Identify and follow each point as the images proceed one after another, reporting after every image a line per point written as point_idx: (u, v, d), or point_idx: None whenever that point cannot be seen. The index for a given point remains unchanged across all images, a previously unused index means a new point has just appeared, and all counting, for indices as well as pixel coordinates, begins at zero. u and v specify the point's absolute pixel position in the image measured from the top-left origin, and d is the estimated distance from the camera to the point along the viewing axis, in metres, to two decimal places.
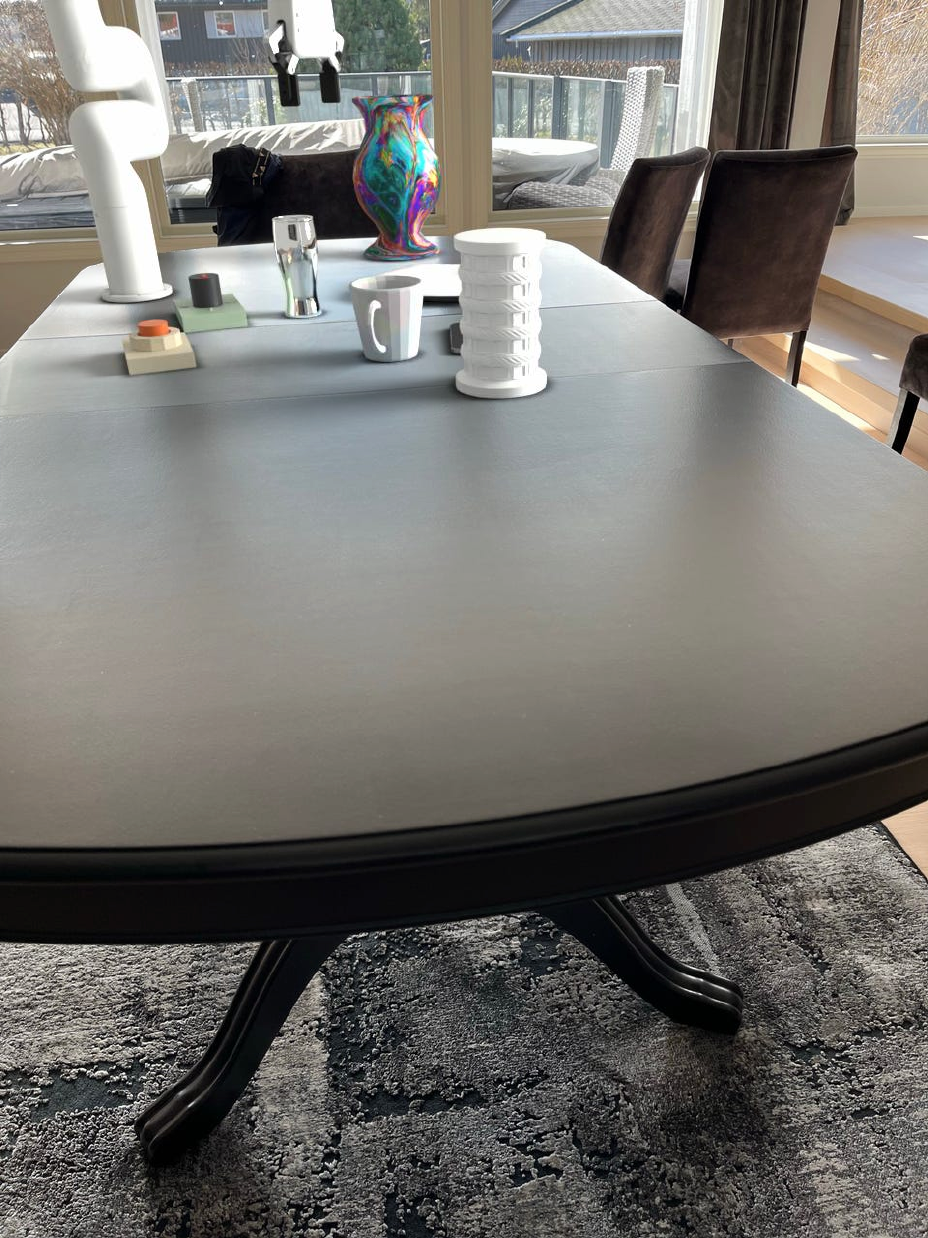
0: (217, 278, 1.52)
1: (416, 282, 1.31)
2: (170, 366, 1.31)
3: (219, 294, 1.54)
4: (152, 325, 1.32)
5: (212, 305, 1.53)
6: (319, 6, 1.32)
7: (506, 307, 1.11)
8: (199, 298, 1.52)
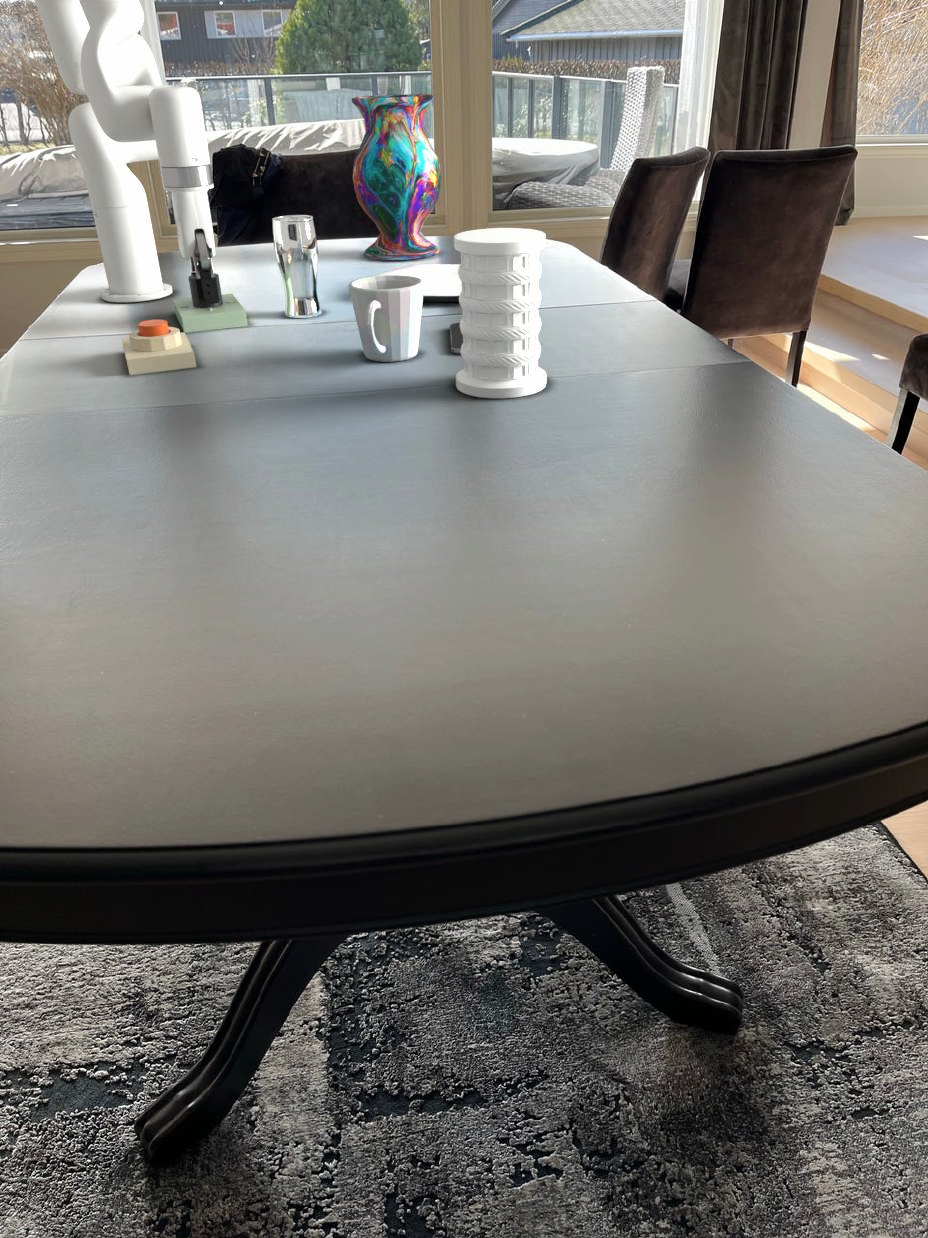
0: (217, 278, 1.52)
1: (416, 282, 1.31)
2: (170, 366, 1.31)
3: (219, 294, 1.54)
4: (152, 325, 1.32)
5: (212, 305, 1.53)
6: None
7: (506, 307, 1.11)
8: None
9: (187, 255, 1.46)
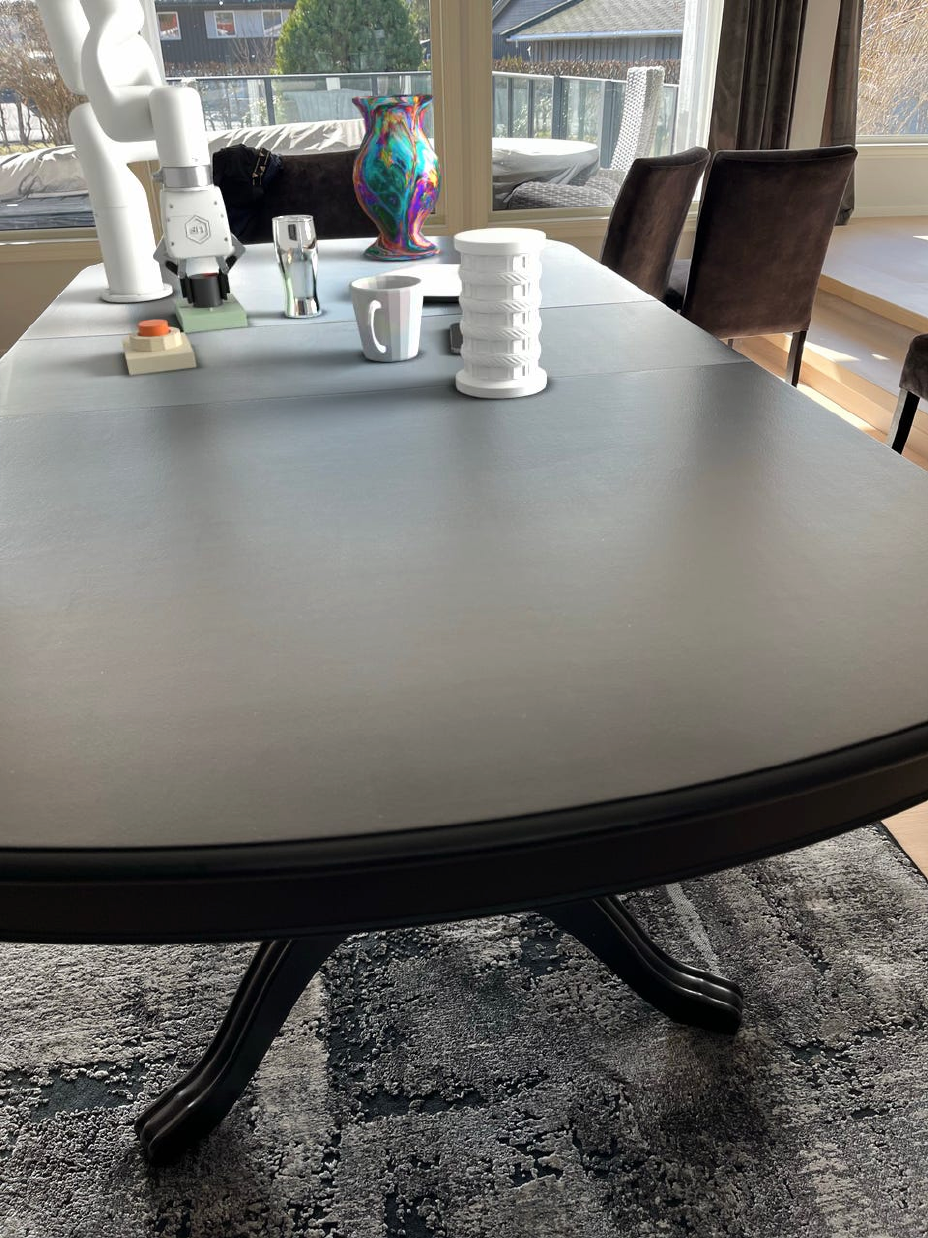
0: None
1: (416, 282, 1.31)
2: (170, 366, 1.31)
3: None
4: (152, 325, 1.32)
5: None
6: None
7: (506, 307, 1.11)
8: (219, 295, 1.54)
9: (231, 249, 1.50)
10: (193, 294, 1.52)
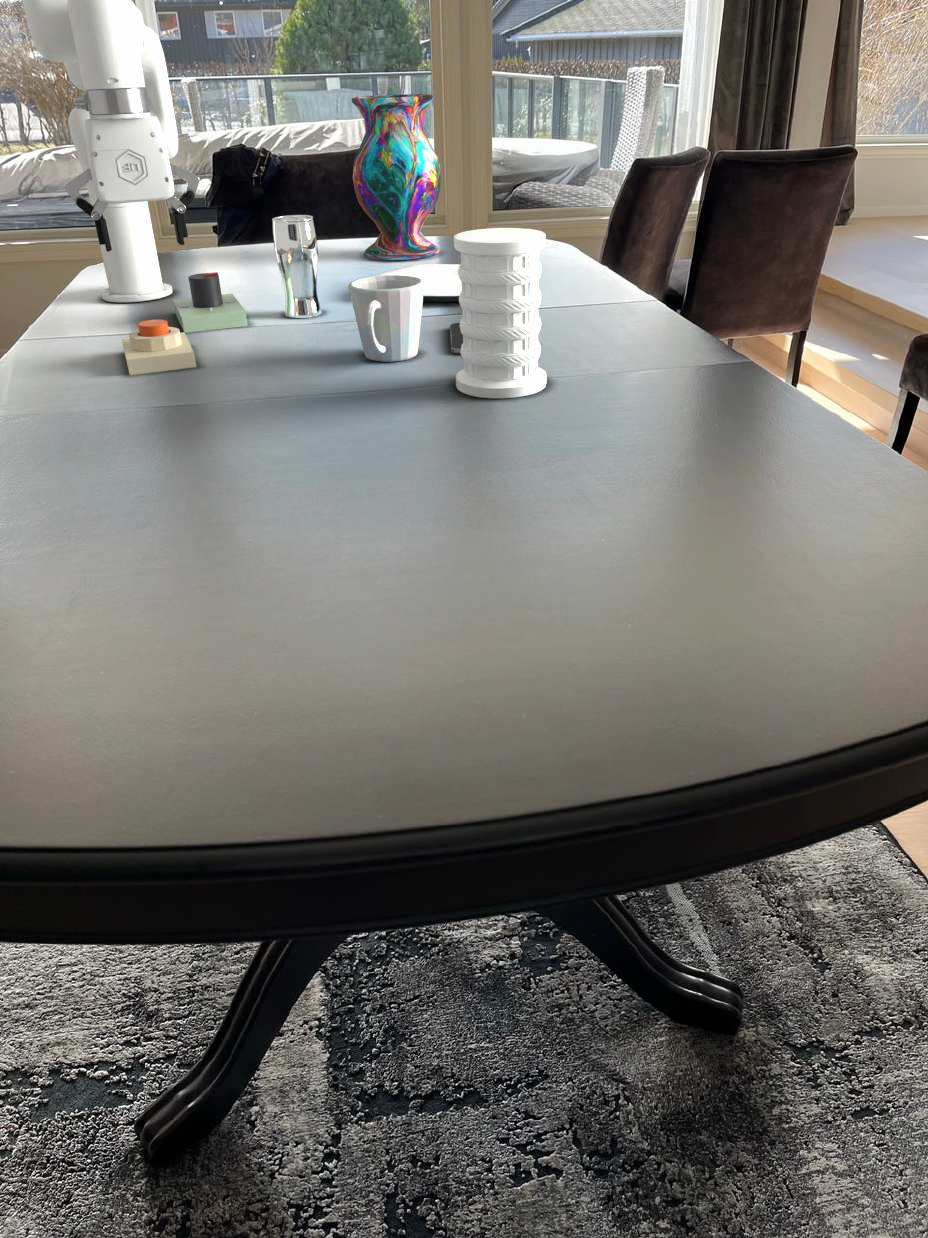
0: None
1: (416, 282, 1.31)
2: (170, 366, 1.31)
3: None
4: (152, 325, 1.32)
5: None
6: None
7: (506, 307, 1.11)
8: (220, 295, 1.54)
9: (173, 191, 1.26)
10: (193, 294, 1.52)
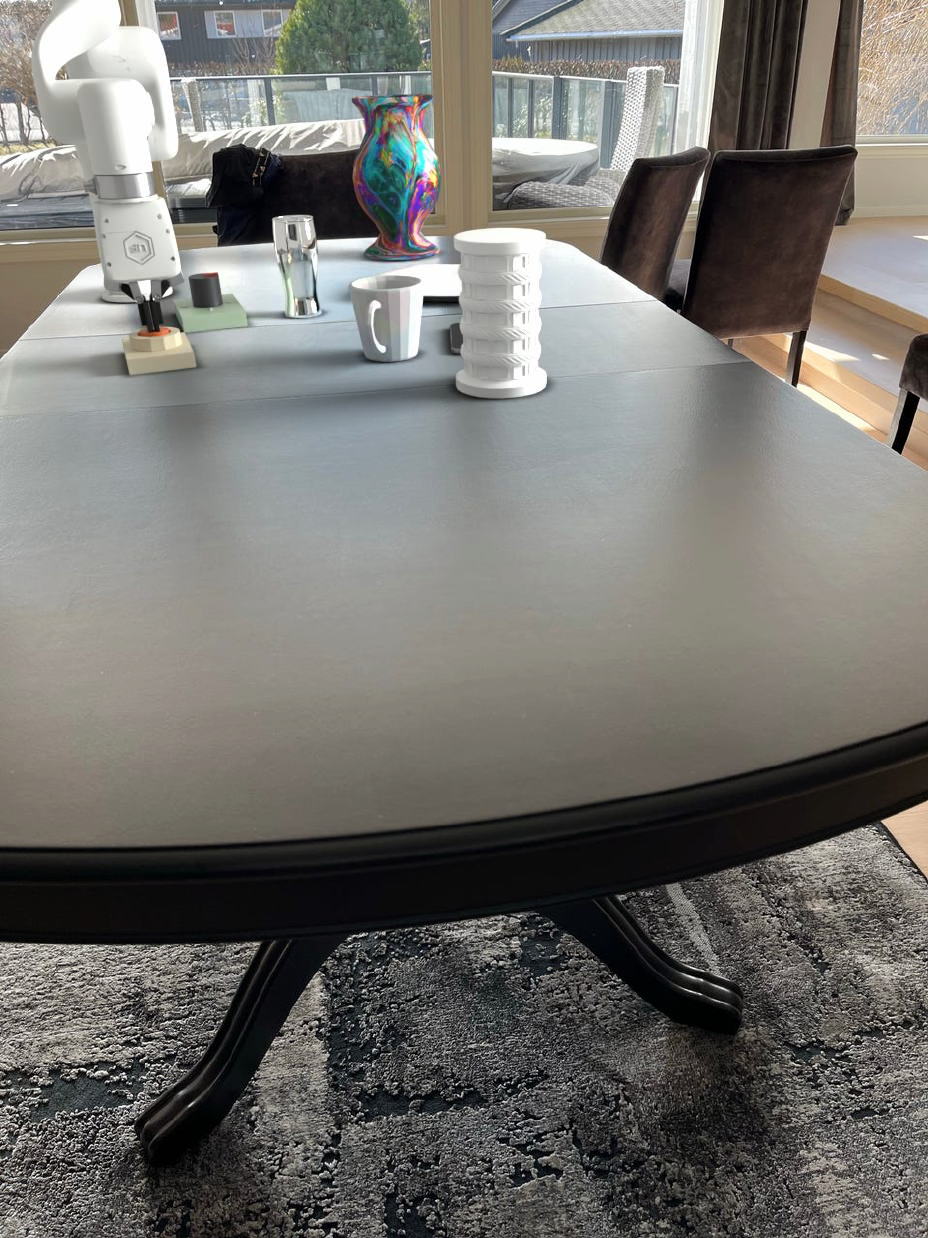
0: None
1: (416, 282, 1.31)
2: (170, 366, 1.31)
3: None
4: (153, 332, 1.32)
5: None
6: None
7: (506, 307, 1.11)
8: (220, 295, 1.54)
9: (180, 269, 1.29)
10: (193, 294, 1.52)
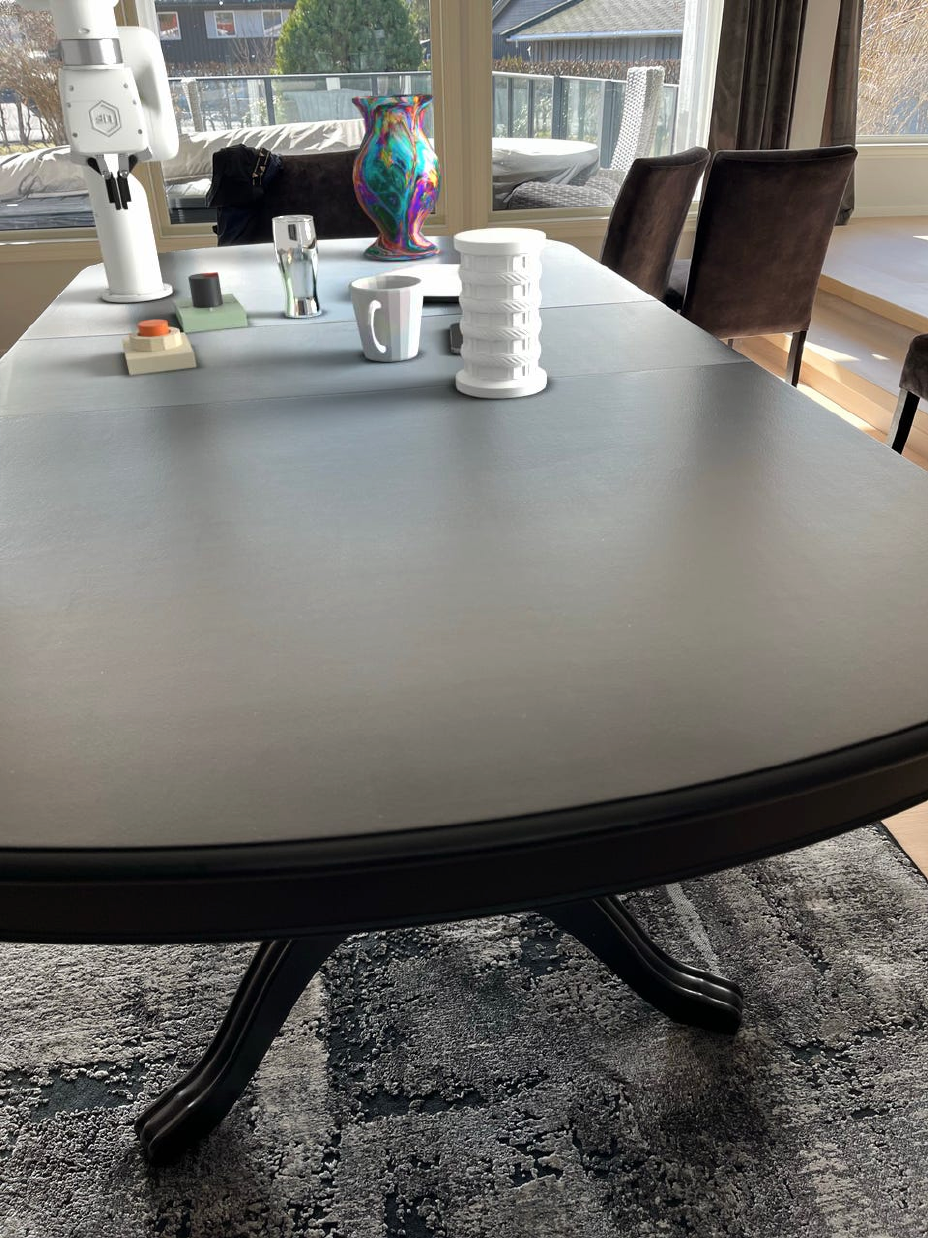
0: None
1: (416, 282, 1.31)
2: (170, 366, 1.31)
3: None
4: (152, 325, 1.32)
5: None
6: None
7: (506, 307, 1.11)
8: (220, 295, 1.54)
9: (147, 144, 1.27)
10: (193, 294, 1.52)
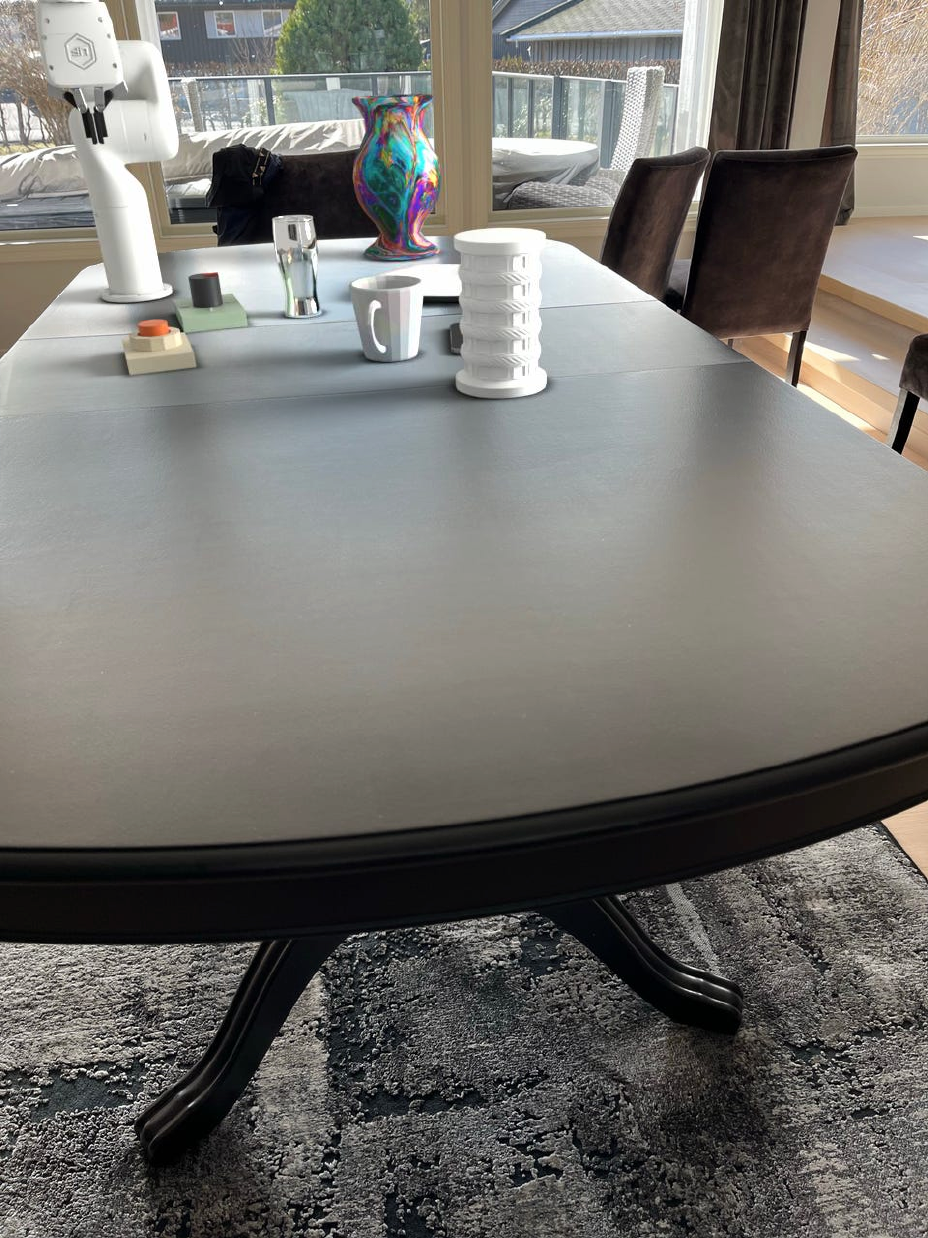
0: None
1: (416, 282, 1.31)
2: (170, 366, 1.31)
3: None
4: (152, 325, 1.32)
5: None
6: None
7: (506, 307, 1.11)
8: (220, 295, 1.54)
9: (122, 78, 1.31)
10: (193, 294, 1.52)
